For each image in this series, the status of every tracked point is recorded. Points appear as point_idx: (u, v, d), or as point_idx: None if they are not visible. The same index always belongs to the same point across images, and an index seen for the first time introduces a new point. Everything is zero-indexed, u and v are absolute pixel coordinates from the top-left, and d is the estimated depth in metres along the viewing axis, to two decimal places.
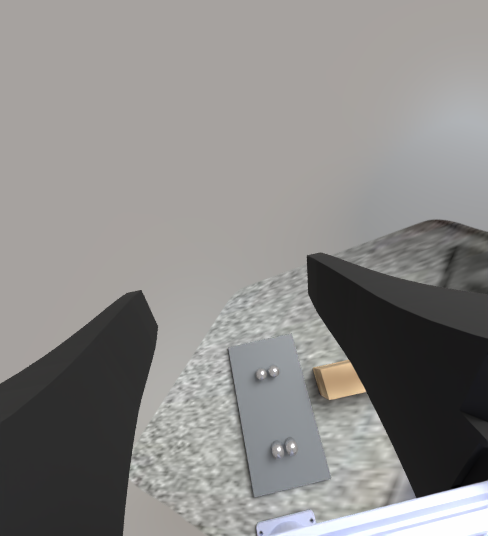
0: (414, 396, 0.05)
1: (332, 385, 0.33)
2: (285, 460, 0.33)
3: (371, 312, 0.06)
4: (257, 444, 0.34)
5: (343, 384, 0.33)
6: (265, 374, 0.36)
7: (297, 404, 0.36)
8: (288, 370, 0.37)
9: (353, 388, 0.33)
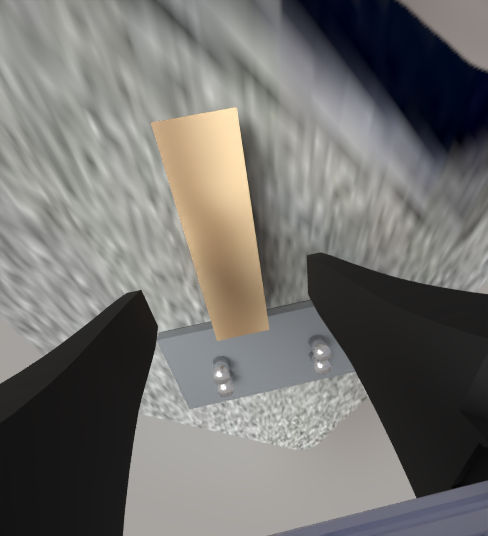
0: (414, 396, 0.05)
1: (245, 324, 0.17)
2: (332, 345, 0.25)
3: (371, 312, 0.06)
4: (309, 371, 0.26)
5: (244, 306, 0.16)
6: (225, 387, 0.23)
7: (269, 332, 0.23)
8: (220, 343, 0.23)
9: (252, 290, 0.16)
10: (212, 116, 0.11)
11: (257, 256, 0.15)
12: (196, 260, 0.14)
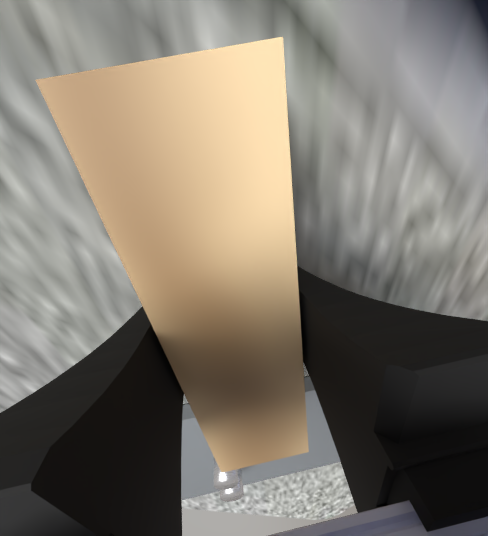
0: (347, 412, 0.05)
1: (270, 449, 0.10)
2: None
3: (315, 324, 0.06)
4: None
5: (270, 428, 0.09)
6: (232, 492, 0.16)
7: None
8: None
9: (286, 406, 0.09)
10: (214, 63, 0.04)
11: (300, 359, 0.08)
12: (182, 373, 0.07)
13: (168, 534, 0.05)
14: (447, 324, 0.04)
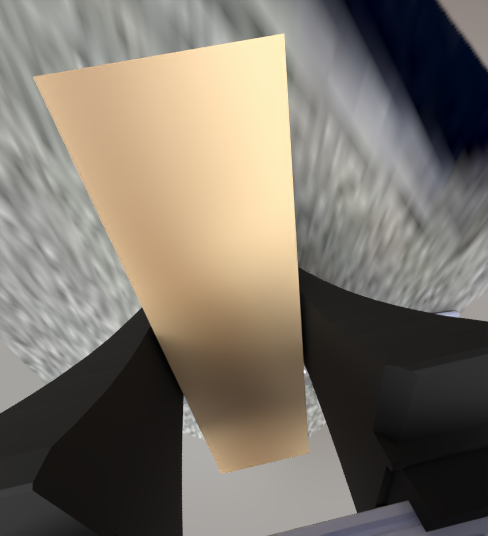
0: (346, 412, 0.05)
1: (270, 450, 0.10)
2: None
3: (314, 324, 0.06)
4: None
5: (270, 430, 0.09)
6: None
7: None
8: None
9: (286, 407, 0.09)
10: (214, 61, 0.04)
11: (301, 360, 0.07)
12: (181, 374, 0.07)
13: (169, 533, 0.05)
14: (446, 324, 0.04)
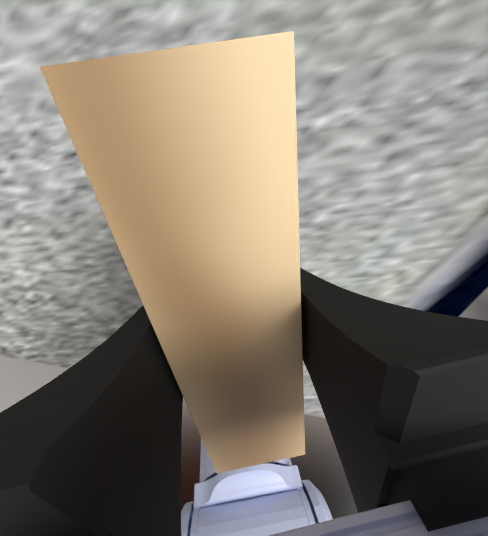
0: (347, 412, 0.05)
1: (266, 451, 0.10)
2: None
3: (315, 324, 0.06)
4: None
5: (267, 430, 0.09)
6: None
7: None
8: None
9: (284, 408, 0.09)
10: (223, 56, 0.04)
11: (300, 360, 0.07)
12: (180, 372, 0.07)
13: (167, 534, 0.05)
14: (448, 324, 0.04)
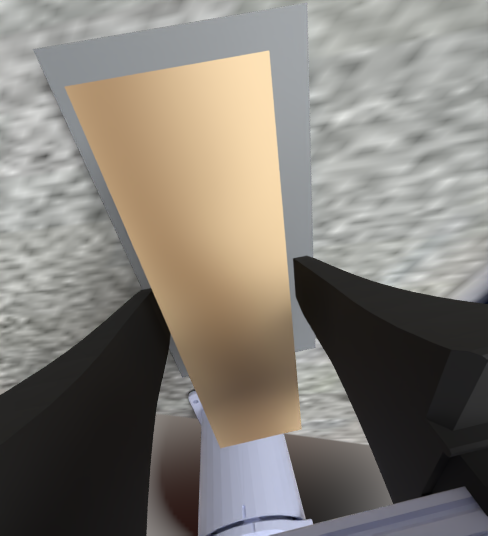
0: (387, 402, 0.05)
1: (265, 425, 0.11)
2: None
3: (349, 317, 0.06)
4: None
5: (265, 405, 0.10)
6: None
7: None
8: None
9: (279, 383, 0.09)
10: (212, 72, 0.05)
11: (291, 337, 0.08)
12: (184, 348, 0.08)
13: None
14: None
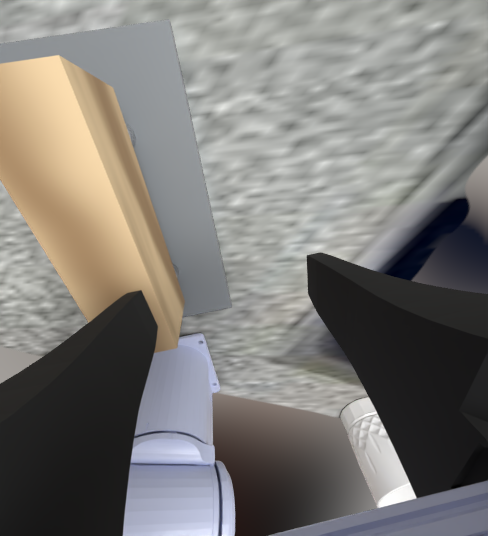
0: (414, 396, 0.05)
1: None
2: None
3: (371, 312, 0.06)
4: None
5: None
6: None
7: (184, 212, 0.18)
8: (162, 138, 0.15)
9: None
10: (26, 67, 0.08)
11: (140, 260, 0.12)
12: (57, 264, 0.11)
13: None
14: None
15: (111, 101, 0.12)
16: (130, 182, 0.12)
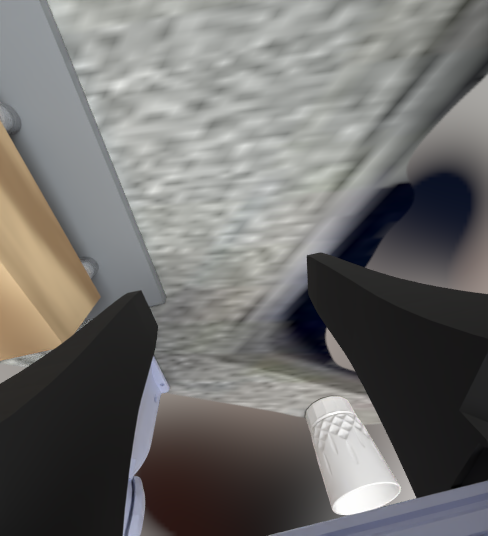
0: (414, 396, 0.05)
1: (24, 340, 0.13)
2: None
3: (371, 312, 0.06)
4: None
5: (9, 317, 0.12)
6: None
7: (91, 201, 0.16)
8: (50, 120, 0.14)
9: (8, 295, 0.11)
10: None
11: None
12: None
13: None
14: None
15: None
16: None
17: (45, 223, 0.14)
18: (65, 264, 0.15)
